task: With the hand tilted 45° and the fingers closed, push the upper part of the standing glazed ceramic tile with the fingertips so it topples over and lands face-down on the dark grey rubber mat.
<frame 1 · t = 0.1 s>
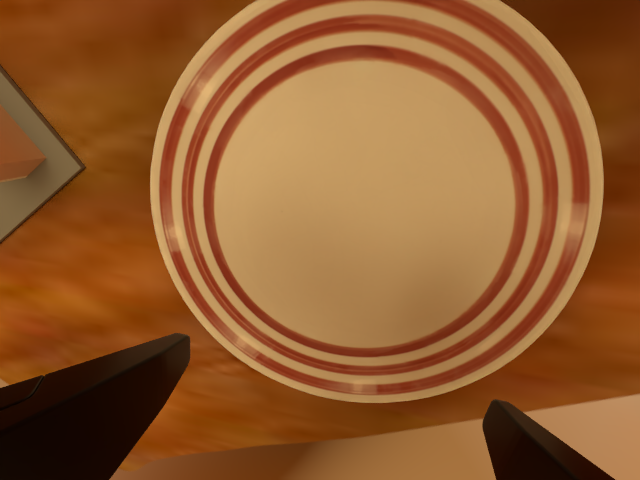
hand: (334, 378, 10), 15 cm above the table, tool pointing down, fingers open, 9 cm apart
dinner plate: (354, 219, 24), on the table
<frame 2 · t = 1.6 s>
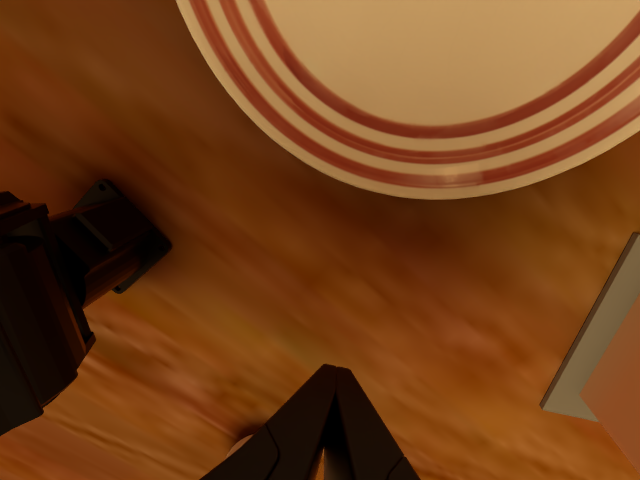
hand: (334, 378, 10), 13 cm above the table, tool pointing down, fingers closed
tile: (631, 342, 22), resting on mat
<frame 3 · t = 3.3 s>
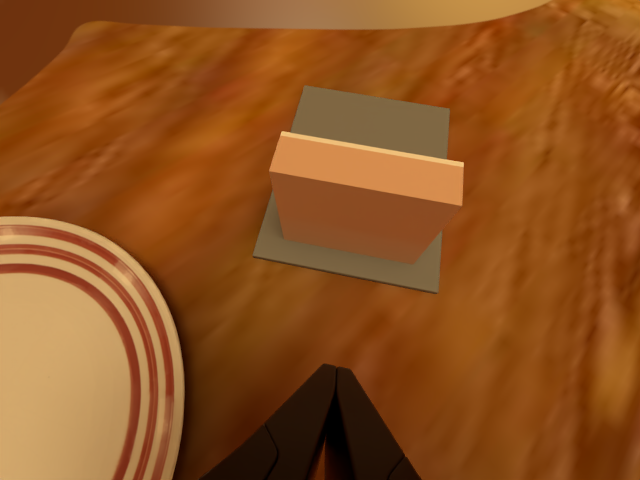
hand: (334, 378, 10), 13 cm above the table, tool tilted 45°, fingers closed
tile: (350, 237, 26), resting on mat
mat: (361, 176, 28), on the table
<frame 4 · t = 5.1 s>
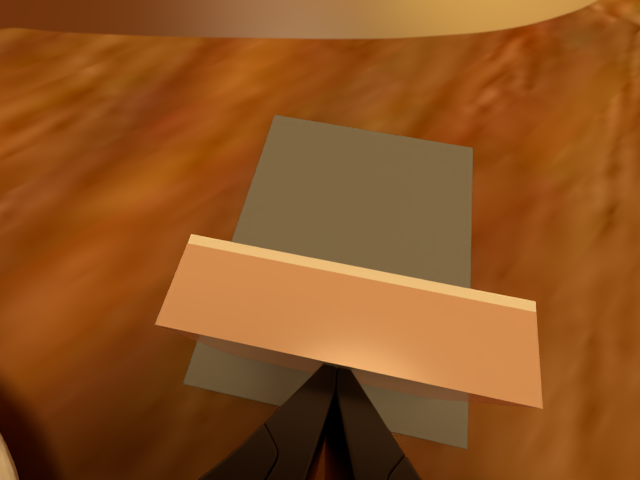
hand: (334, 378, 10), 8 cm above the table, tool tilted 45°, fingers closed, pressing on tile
tile: (332, 351, 17), resting on mat, touching gripper
mat: (350, 249, 20), on the table
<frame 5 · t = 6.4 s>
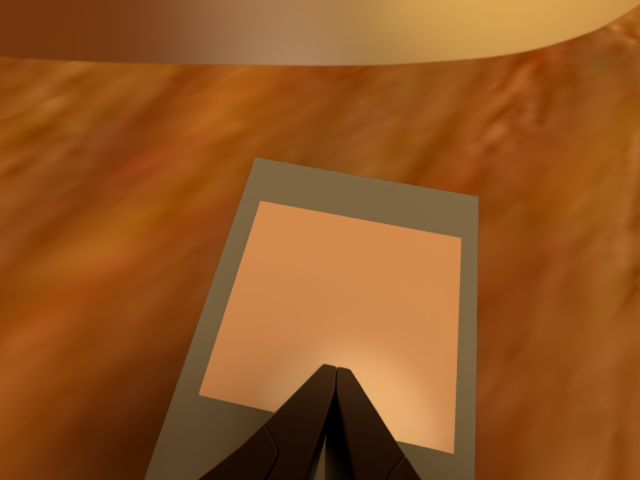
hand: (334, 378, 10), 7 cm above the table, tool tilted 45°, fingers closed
tile: (322, 420, 14), point 2 cm above the table, tilted 90°, touching mat
mat: (338, 322, 17), on the table
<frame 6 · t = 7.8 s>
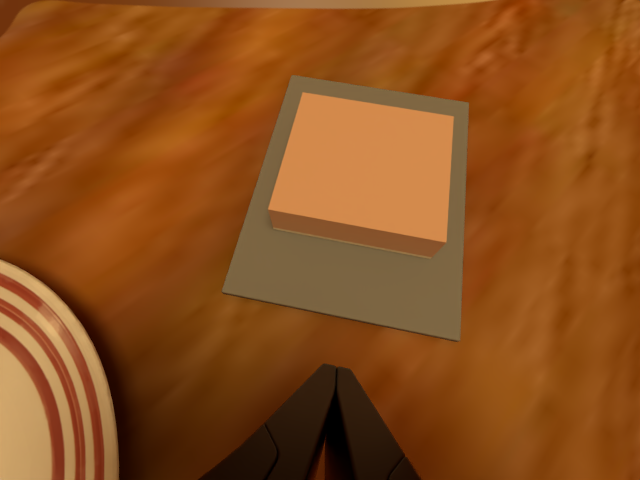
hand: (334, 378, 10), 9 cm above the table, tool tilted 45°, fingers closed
tile: (353, 234, 19), point 2 cm above the table, tilted 90°, touching mat
mat: (360, 188, 23), on the table
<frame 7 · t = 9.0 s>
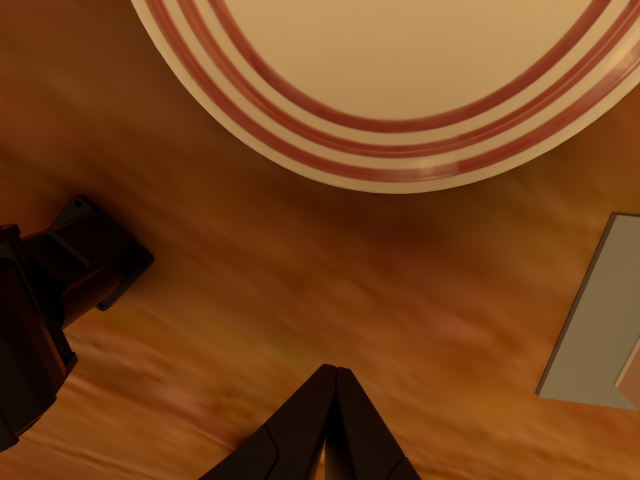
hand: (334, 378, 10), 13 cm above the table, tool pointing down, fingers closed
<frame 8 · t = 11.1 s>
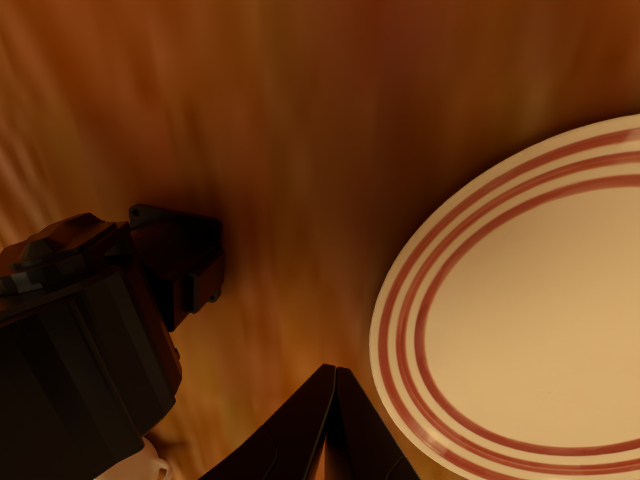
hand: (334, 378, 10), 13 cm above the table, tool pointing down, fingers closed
dinner plate: (571, 325, 23), on the table
teacup: (145, 444, 33), on the table
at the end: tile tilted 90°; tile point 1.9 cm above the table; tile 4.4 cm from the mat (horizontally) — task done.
